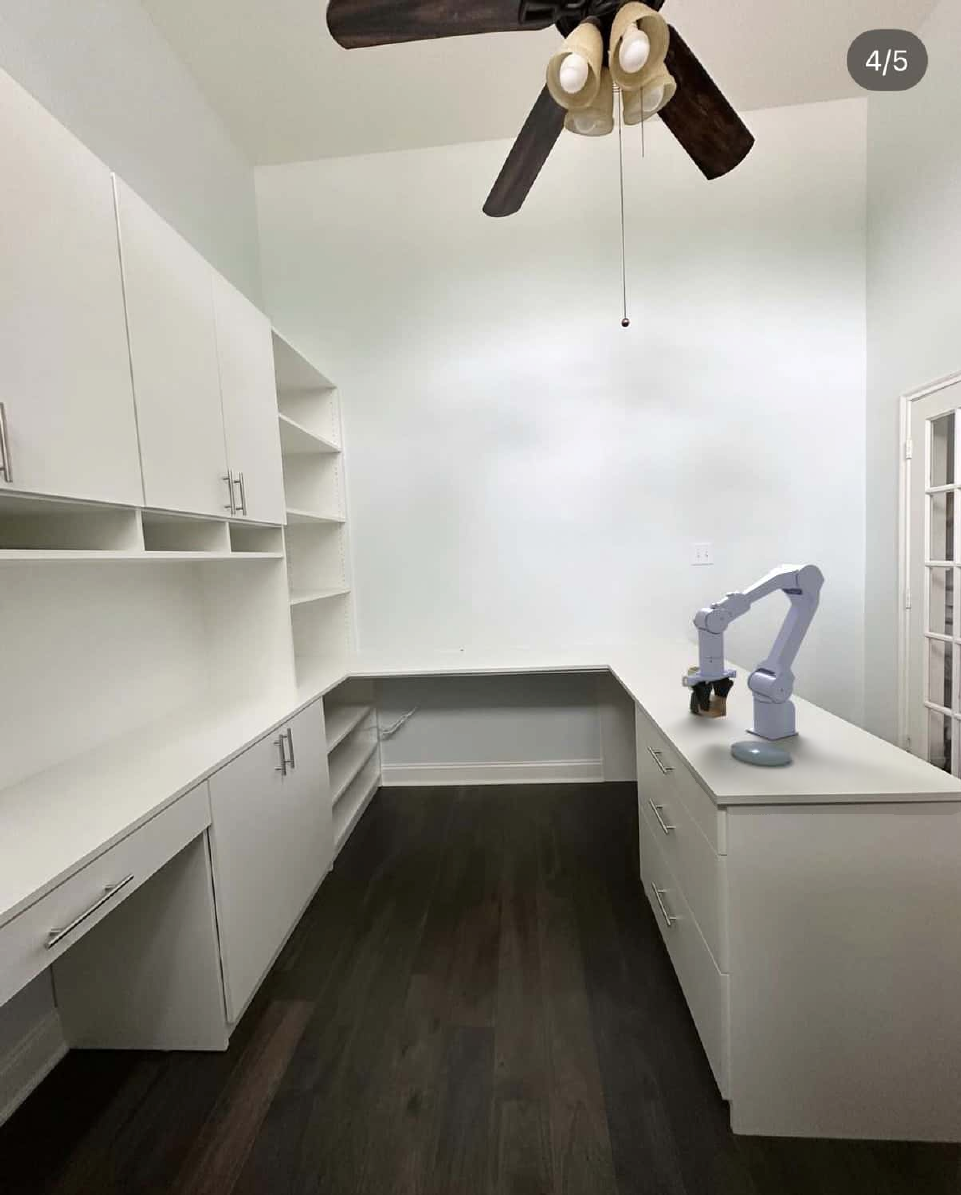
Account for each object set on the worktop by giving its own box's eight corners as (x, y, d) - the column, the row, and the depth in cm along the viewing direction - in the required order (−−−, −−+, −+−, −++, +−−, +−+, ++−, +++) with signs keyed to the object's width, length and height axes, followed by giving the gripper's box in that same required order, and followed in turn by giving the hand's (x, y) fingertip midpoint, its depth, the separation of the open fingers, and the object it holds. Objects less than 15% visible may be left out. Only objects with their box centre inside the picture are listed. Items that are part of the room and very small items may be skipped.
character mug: (687, 717, 144) (686, 672, 143) (678, 709, 151) (677, 667, 150) (725, 715, 144) (724, 670, 143) (714, 707, 151) (713, 665, 150)
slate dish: (756, 742, 123) (756, 737, 123) (803, 759, 112) (803, 754, 112) (719, 751, 119) (719, 746, 119) (763, 770, 108) (763, 765, 108)
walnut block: (712, 710, 130) (711, 693, 130) (726, 715, 126) (725, 698, 125) (698, 713, 128) (698, 696, 128) (712, 718, 124) (712, 700, 124)
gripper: (720, 650, 132) (721, 700, 133) (676, 657, 127) (678, 709, 128) (743, 654, 125) (743, 707, 127) (697, 661, 120) (699, 716, 121)
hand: (712, 708), depth 127 cm, fingers closed on walnut block, 4 cm apart
